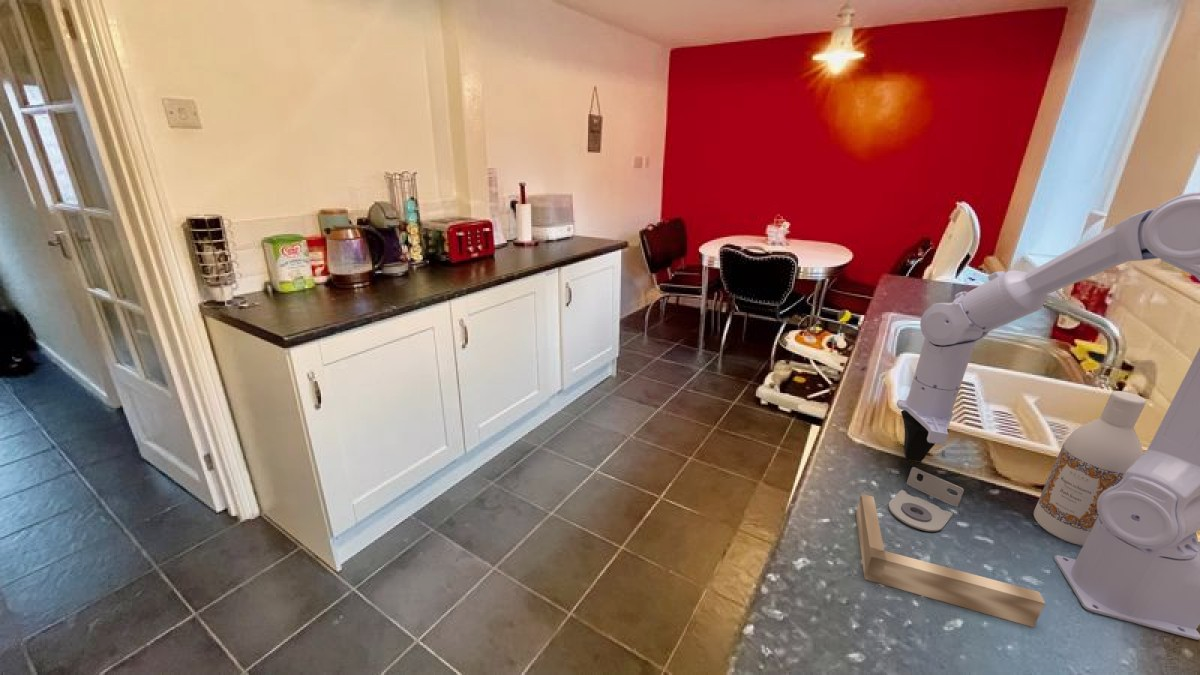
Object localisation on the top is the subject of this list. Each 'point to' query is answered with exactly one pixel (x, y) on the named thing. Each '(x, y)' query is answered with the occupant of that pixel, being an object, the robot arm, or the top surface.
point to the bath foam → (1090, 468)
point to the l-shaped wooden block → (940, 577)
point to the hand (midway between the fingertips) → (912, 458)
